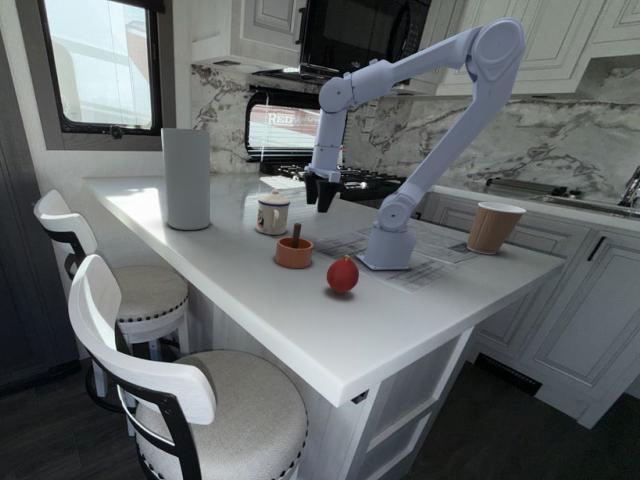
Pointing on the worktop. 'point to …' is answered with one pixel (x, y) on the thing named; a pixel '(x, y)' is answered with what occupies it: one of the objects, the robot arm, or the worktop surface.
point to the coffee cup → (492, 226)
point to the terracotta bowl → (293, 253)
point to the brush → (296, 236)
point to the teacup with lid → (272, 213)
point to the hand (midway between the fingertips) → (316, 208)
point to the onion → (343, 275)
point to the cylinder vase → (187, 177)
